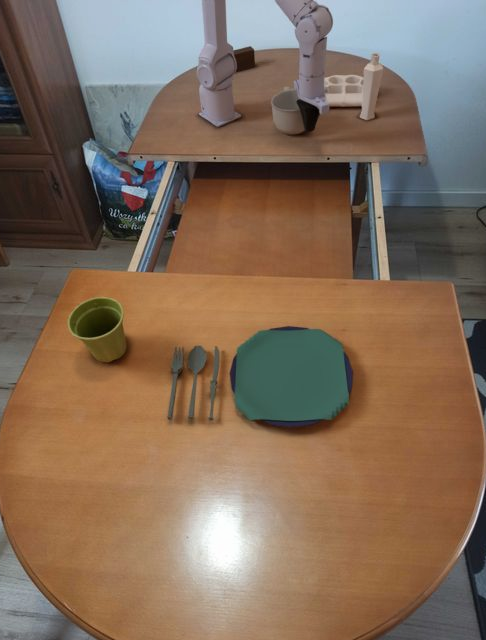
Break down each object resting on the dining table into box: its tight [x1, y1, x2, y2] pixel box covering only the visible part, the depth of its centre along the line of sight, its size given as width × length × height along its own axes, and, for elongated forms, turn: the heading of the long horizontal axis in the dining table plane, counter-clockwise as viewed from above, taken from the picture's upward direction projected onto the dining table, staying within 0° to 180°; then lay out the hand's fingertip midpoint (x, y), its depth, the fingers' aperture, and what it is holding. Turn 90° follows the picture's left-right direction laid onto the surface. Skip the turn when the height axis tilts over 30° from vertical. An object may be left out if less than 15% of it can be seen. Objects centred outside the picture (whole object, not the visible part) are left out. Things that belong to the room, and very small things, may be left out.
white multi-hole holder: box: [324, 74, 364, 108], centre depth 137 cm, size 3×18×15 cm
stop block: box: [233, 45, 256, 73], centre depth 152 cm, size 3×10×5 cm, turn 111°
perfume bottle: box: [359, 52, 385, 121], centre depth 125 cm, size 5×4×15 cm
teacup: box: [270, 86, 306, 136], centre depth 128 cm, size 14×11×8 cm
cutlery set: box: [166, 325, 354, 429], centre depth 81 cm, size 20×30×2 cm, turn 87°
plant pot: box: [67, 296, 128, 363], centre depth 85 cm, size 9×9×9 cm
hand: (309, 129), depth 122 cm, fingers closed
